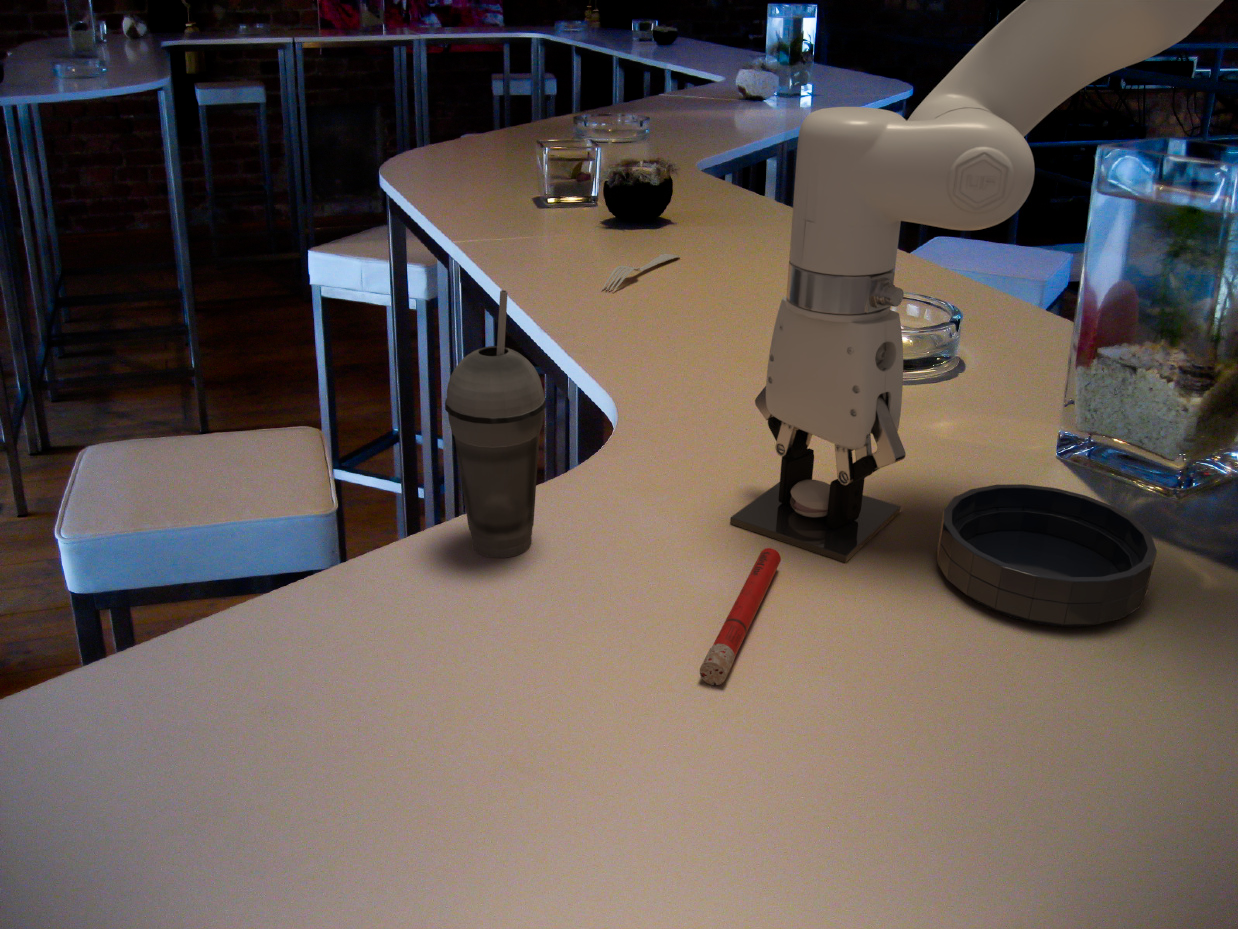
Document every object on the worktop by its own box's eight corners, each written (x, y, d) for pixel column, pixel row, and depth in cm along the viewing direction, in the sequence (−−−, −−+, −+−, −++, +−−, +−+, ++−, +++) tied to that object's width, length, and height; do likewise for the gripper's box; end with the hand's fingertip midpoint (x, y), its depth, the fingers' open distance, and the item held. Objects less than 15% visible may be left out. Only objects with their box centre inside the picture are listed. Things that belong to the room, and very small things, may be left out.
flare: (698, 682, 67) (700, 659, 67) (758, 566, 80) (759, 546, 79) (724, 688, 67) (726, 665, 66) (780, 570, 79) (782, 550, 79)
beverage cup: (497, 511, 87) (486, 267, 79) (568, 538, 84) (565, 285, 75) (433, 547, 82) (414, 290, 73) (506, 578, 78) (494, 310, 70)
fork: (682, 273, 160) (683, 254, 159) (616, 293, 143) (617, 272, 142) (664, 271, 161) (666, 252, 160) (597, 290, 144) (598, 269, 143)
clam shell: (788, 498, 88) (790, 470, 87) (850, 502, 88) (853, 474, 87) (789, 523, 85) (791, 495, 84) (854, 528, 84) (857, 499, 83)
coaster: (790, 479, 93) (790, 473, 93) (900, 512, 88) (900, 506, 87) (729, 523, 86) (730, 517, 86) (845, 563, 80) (846, 556, 80)
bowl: (1008, 512, 88) (1016, 468, 86) (1181, 586, 78) (1194, 537, 76) (896, 568, 80) (903, 520, 78) (1073, 658, 70) (1085, 605, 68)
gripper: (969, 305, 75) (934, 537, 83) (789, 255, 87) (774, 462, 95) (900, 326, 71) (870, 568, 78) (721, 271, 82) (711, 486, 90)
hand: (818, 508), depth 86 cm, fingers closed on clam shell, 4 cm apart
